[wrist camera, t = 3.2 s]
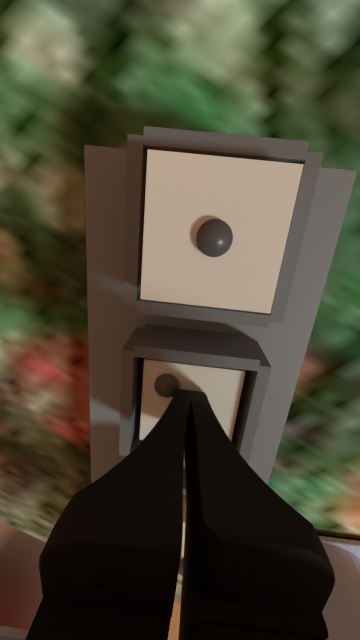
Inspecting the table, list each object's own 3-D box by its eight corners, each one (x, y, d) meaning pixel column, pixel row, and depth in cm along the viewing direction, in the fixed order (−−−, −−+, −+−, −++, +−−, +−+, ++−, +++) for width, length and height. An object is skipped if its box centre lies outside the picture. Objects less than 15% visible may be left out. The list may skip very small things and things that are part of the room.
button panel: (249, 499, 19) (264, 578, 15) (101, 480, 19) (74, 552, 15) (333, 178, 12) (408, 151, 8) (101, 156, 12) (50, 117, 8)
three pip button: (225, 424, 14) (229, 454, 12) (146, 414, 14) (138, 442, 13) (239, 352, 13) (246, 373, 11) (151, 342, 13) (143, 361, 11)
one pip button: (258, 299, 10) (272, 315, 9) (149, 287, 11) (139, 300, 9) (283, 176, 9) (306, 162, 7) (156, 164, 9) (146, 147, 7)
